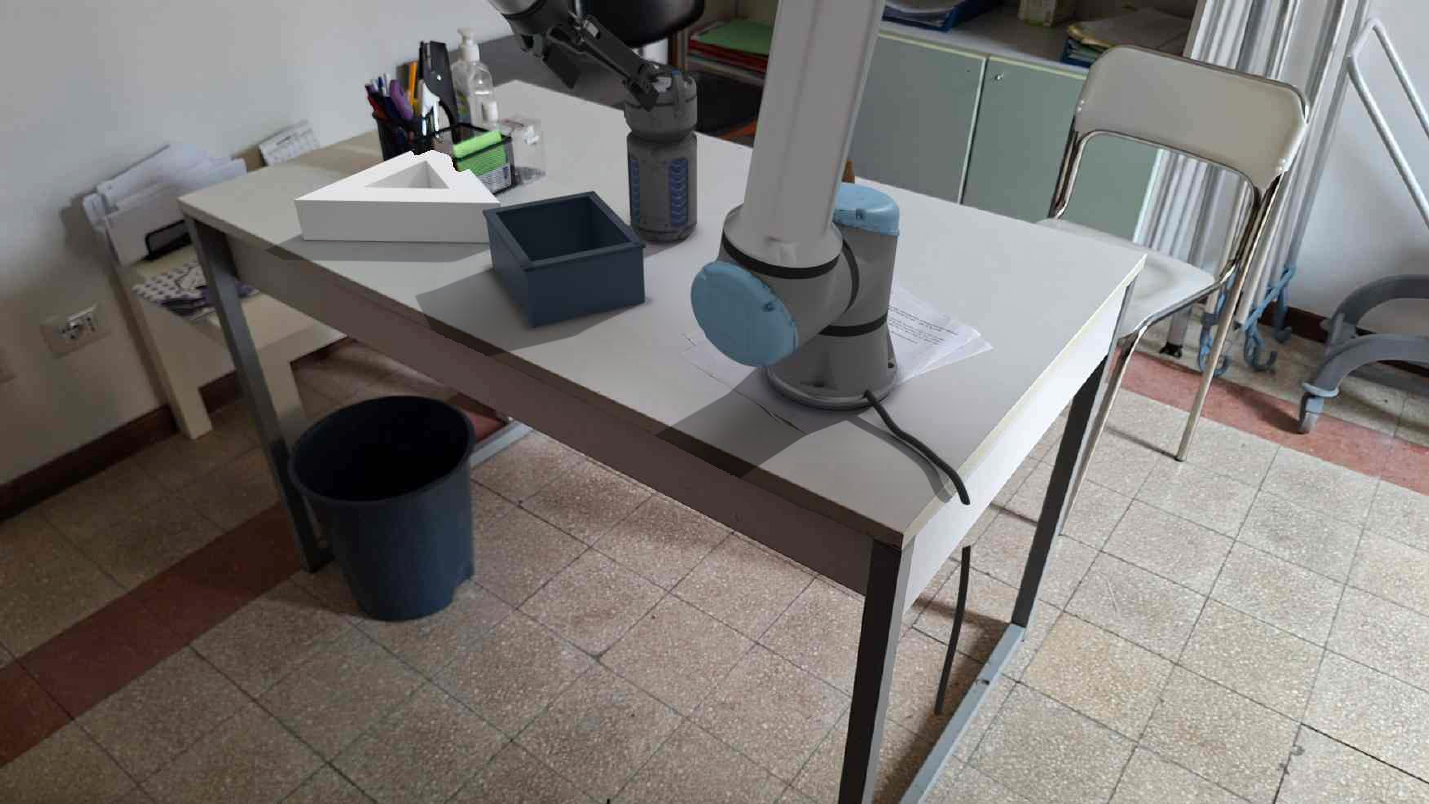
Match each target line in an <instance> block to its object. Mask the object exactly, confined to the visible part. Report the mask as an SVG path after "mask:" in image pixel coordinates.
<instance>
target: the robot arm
mask: <svg viewBox="0 0 1429 804" xmlns="http://www.w3.org/2000/svg"><path fill="white" fill-rule="evenodd" d="M486 1H487V2H488V3H489V4H490V6H492V8H494V9H495V10H496V11H497V12H499V13H500V15H501V16H502V17H503V18H504V19H505V21H506V22H507V23H508V25H509V26H510V27H509V28H510V29H511V31H512V34H513V36H514V38H515V40H516V43H517V45H518V47H519V49H520V50H521V52H523V53H526V54H528V53H529V52H532V56H534V58H537V59H540V60H541V61H542V62H543V64H545V65H546V67H548V68H549V70H551V72H552V73H553V74H554V75H555V76H556V77H557V78H558V79H559V80H560V81H561V83H562V84H564V85H565V87H567V89H569V90H573V89H574V88H575V86H576V83H577V82H578V80H579V79H580V76H581V75H582V71H581V70H580V68H578V66H577V65H576V64H575V63H574V62H573V60H572V59H571V58H570V57H569V56H568V55H567V54H566V53H565V52H564V51H563V50H562V49H561V48H560V46H559V45H562V46H563V47H565V48H567V49H569V51H571V52H573V53H575V54H576V55H578V56H579V55H582V54H583V55H585V56H586V57H588V58H590V59H591V60H593V61H594V62H596V63H597V64H599V65H600V66H601V67H603V68H605V69H606V70H608V71H609V72H611V73H612V74H614V76H615V75H616V76H617V77H618V78H620V79H621V80H622V82H621V84H622V86H623V88H624V89H625V90H626V89H628V91H629V92H630V93H631V94H632V95H633V96H634V98H635V99H636V100H637V101H638V102H639V103H640V105H641V106H642V107H643V108H644V109H645V110H646V111H648V112H651V110H652V108H653V106H654V104H655V102H656V100H657V98H658V96H659V95H660V94H659V92H658V91H657V90H656V89H655V87H654V86H653V85H652V84H651V82H650V81H649V80H648V79H647V77H646V76H645V75H646V73H647V71H648V69H649V68H650V65H649V64H648V63H647V62H646V61H645V60H644V59H645V58H644V59H642V58H643V57H641V56H640V55H639V54H638V53H636V52H635V51H634V50H632V48H630V47H629V46H628V45H626V44H625V43H624V42H622V41H621V40H620V39H619V38H617V36H615V34H613V33H611V32H610V31H609V30H608V29H606V27H604V26H603V25H602V24H601V22H599V21H598V19H597V18H596V17H595V16H594V15H591V14H587V15H586V17H585V19H584V20H583V19H581V18H580V17H578V16H577V13H575V11H573V10H571V9H570V8H569V7H568V0H486ZM886 2H887V0H778V3H777V9H776V14H775V21H774V26H773V32H772V38H771V43H770V48H769V54H768V55H769V56H768V59H767V66H766V72H765V77H764V82H763V83H764V84H763V89H762V95H761V99H760V101H761V102H760V106H759V111H758V118H757V123H756V129H755V135H754V141H753V145H752V151H751V158H750V163H749V169H748V175H747V180H746V186H745V191H744V197H743V202H742V203H740V204H739V205H737V206H734V207H733V208H732V209H730V210H729V212H728V213H727V214H726V216H725V218H724V221H723V224H722V232H721V237H720V244H719V248H718V254H717V256H716V259H715V260H714V261H710V262H708V263H706V264H705V265H703V266H702V267H701V269H700V270H699V272H697V274H696V275H695V277H694V278H693V280H692V283H691V287H690V304H691V309H692V313H693V315H694V317H695V320H696V322H697V324H698V326H699V328H701V330H702V331H703V333H704V335H705V337H706V338H707V340H708V341H709V342H710V343H711V345H712V346H714V347H715V349H716V350H718V351H719V352H720V353H721V354H723V356H725V357H726V358H728V359H730V360H732V361H734V362H736V363H738V364H739V365H742V366H746V367H751V368H762V367H766V373H767V374H766V375H767V378H768V380H769V383H770V384H771V385H772V386H773V387H774V388H775V389H776V391H778V392H779V393H780V394H781V395H783V396H784V397H786V398H788V399H790V400H792V401H794V402H796V403H799V404H801V405H805V406H809V407H813V408H819V409H825V410H851V409H857V408H862V407H866V406H870V405H871V406H872V407H873V408H874V410H875V411H876V412H877V414H878V415H879V417H880V418H881V421H882V422H883V423H884V424H885V425H886V427H887V428H888V429H889V431H891V433H892V434H894V436H896V437H898V438H899V439H901V440H902V441H904V442H906V443H907V444H909V445H911V446H912V447H914V448H915V449H917V450H918V451H919V452H920V453H922V454H923V456H925V457H926V458H927V459H928V460H929V461H930V462H932V463H933V464H934V465H935V466H936V467H937V468H938V469H940V470H941V471H942V472H943V473H945V474H946V475H947V477H948V479H950V480H951V482H952V484H953V485H954V487H955V489H956V492H957V494H958V497H959V500H960V502H961V504H962V505H964V506H970V505H971V499H970V496H969V494H968V490H967V488H966V486H965V483H964V481H963V480H962V478H961V476H960V475H959V473H958V472H957V471H956V470H955V469H954V468H953V467H952V466H951V465H950V464H949V463H947V462H946V461H945V460H944V459H942V458H941V457H939V456H938V455H937V453H935V452H934V451H933V450H932V449H930V448H929V447H928V445H926V444H924V443H923V442H922V441H921V440H919V439H917V438H916V437H915V436H913V435H912V434H909V433H908V432H906V431H904V430H903V429H901V428H900V427H899V426H898V425H897V424H896V422H895V421H894V420H893V418H892V417H891V416H890V414H889V413H888V411H887V409H886V408H885V407H884V406H883V405H882V403H881V402H880V401H881V400H883V399H884V398H885V397H887V396H888V395H889V394H890V392H892V390H893V388H894V386H895V384H896V378H897V369H898V363H897V359H896V354H895V349H894V345H893V340H892V336H891V333H890V329H889V323H888V316H889V309H890V300H891V293H892V285H893V278H894V270H895V262H896V254H897V249H898V241H899V236H900V234H901V231H900V228H899V226H900V208H899V205H898V203H897V202H896V201H895V200H894V199H893V198H892V197H891V196H890V195H888V194H887V193H886V192H882V191H881V190H878V189H876V188H873V187H870V186H867V185H862V184H857V183H855V184H852V183H845V182H841V181H842V177H843V173H844V169H845V165H846V161H847V157H848V156H849V154H850V153H849V152H850V149H851V146H852V145H851V144H852V141H853V136H854V132H855V128H856V125H857V120H858V116H859V113H860V108H861V103H862V100H863V96H864V93H865V92H864V91H865V87H866V83H867V79H868V75H869V71H870V67H871V62H872V59H873V55H874V52H875V47H876V42H877V38H878V35H879V30H880V27H881V22H882V18H883V15H884V10H885V6H886ZM579 37H580V42H579V44H578V45H577V44H576V43H577V40H578V38H579ZM549 44H550V45H549ZM848 158H849V157H848ZM971 551H972V545H971V544H969V545H966V546H963V547H961V558H960V572H959V584H958V592H957V600H956V607H955V613H954V618H953V623H952V628H951V632H950V636H949V641H948V645H947V649H946V654H945V658H944V662H943V667H942V671H941V675H940V679H939V683H938V688H937V693H936V698H935V703H934V709H933V715H934V716H936V717H940V716H942V713H943V707H944V702H945V697H946V693H947V688H948V683H949V679H950V675H951V671H952V666H953V663H954V659H955V655H956V650H957V648H958V647H957V646H958V642H959V638H960V634H961V629H962V624H963V619H964V614H965V609H966V603H967V596H968V588H969V579H970V569H971V568H970V567H971Z"/></svg>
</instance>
